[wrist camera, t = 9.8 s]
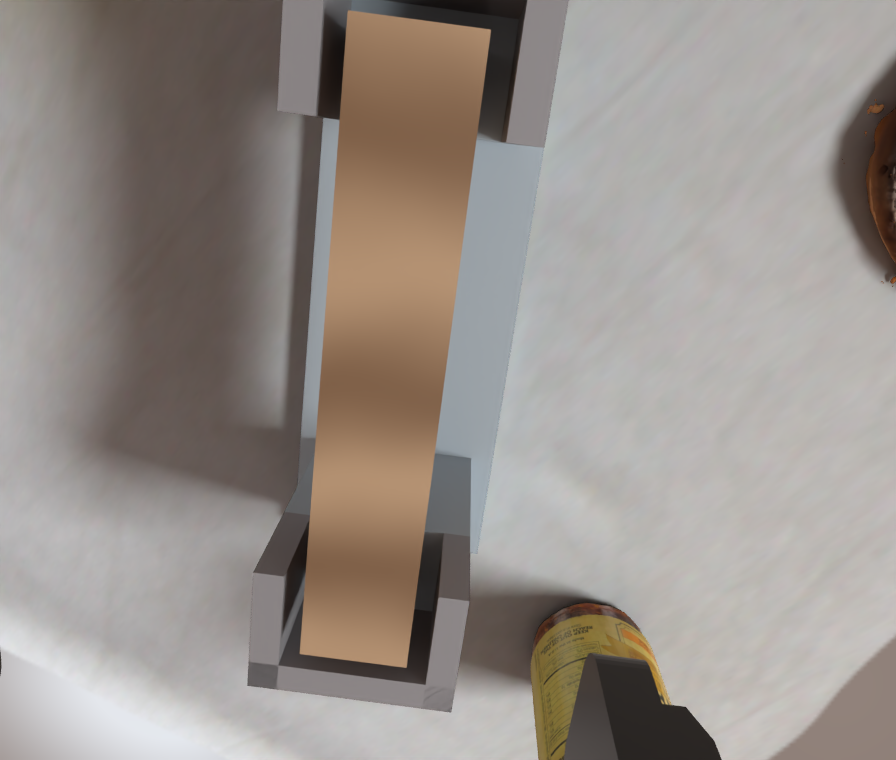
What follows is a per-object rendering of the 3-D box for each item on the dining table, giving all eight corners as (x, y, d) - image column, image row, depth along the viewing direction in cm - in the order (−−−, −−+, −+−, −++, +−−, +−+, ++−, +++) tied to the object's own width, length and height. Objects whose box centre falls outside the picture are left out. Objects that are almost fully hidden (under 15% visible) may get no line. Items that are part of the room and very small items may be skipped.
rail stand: (337, -15, 29) (247, -118, 17) (563, 16, 29) (621, -65, 17) (298, 519, 36) (217, 693, 25) (477, 543, 36) (478, 727, 25)
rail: (372, 35, 22) (347, 10, 17) (487, 51, 22) (491, 29, 17) (326, 574, 28) (299, 653, 23) (416, 586, 28) (406, 667, 24)
